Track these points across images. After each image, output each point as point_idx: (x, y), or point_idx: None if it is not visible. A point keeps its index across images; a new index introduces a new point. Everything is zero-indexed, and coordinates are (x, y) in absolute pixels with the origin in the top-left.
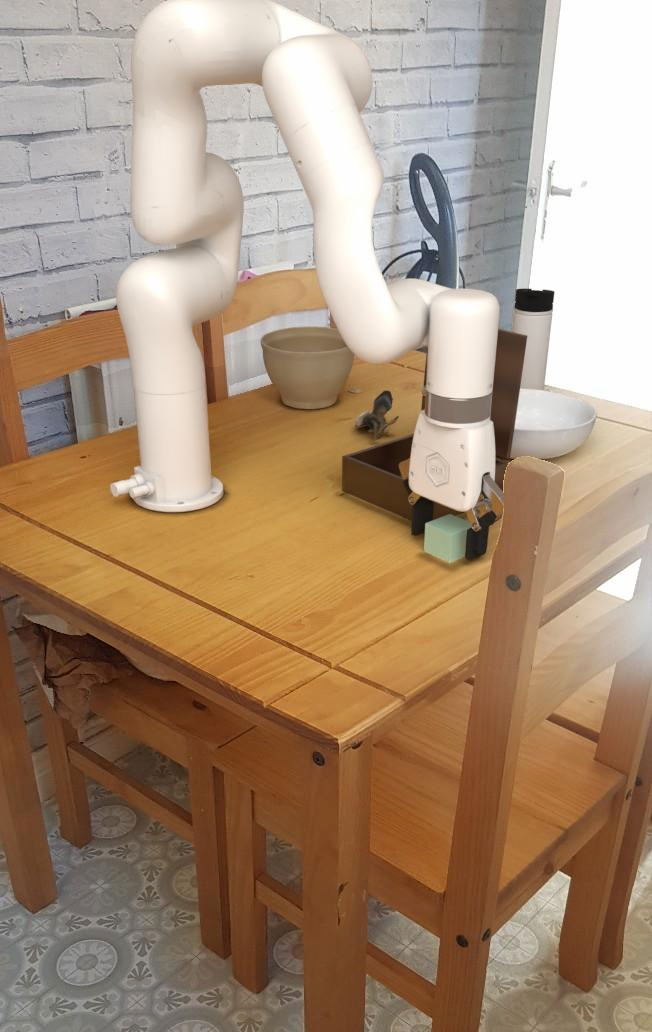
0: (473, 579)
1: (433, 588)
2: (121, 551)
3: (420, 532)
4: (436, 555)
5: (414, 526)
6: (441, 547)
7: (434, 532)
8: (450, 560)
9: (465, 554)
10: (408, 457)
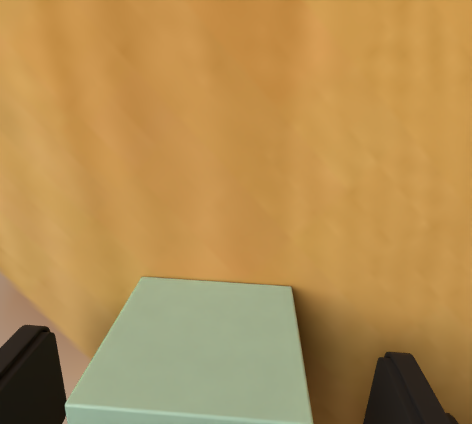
0: (12, 265)
1: (33, 80)
2: None
3: (376, 387)
4: (212, 297)
5: (410, 394)
6: (175, 328)
7: (224, 386)
8: (129, 297)
9: (40, 341)
10: None
